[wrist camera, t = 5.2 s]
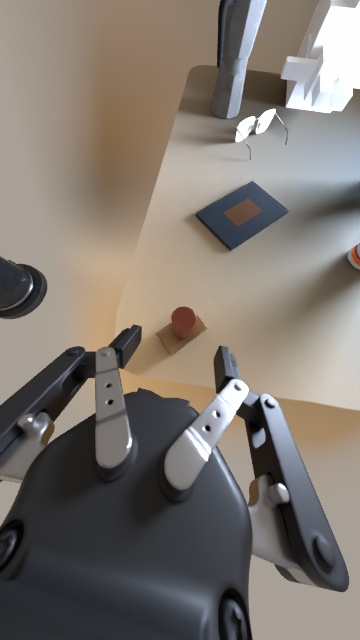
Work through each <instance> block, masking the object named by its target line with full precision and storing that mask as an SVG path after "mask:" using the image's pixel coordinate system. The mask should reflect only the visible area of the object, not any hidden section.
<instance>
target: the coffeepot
mask: <svg viewBox="0 0 360 640" xmlns="http://www.w3.org/2000/svg"><path fill="white" fill-rule="evenodd" d="M266 2H267V0H221V1H220V6H219V14H218V50H217V67H218V68H219V72H218V76H217V81H216V85H215V90H214V94H213V99H212V103H211V107H210V109H211V112H212V113H213V114H214V115H215V116H217V117H219V118H224V119H229V118H233V117H235V116H237V115H238V112H239V110H240V106H241V100H242V93H243V87H244V81H245V74H246V65H247V61H248V56H249V55H250V53H251V50H252V47H253V44H254V41H255V37H256V34H257V31H258V27H259V24H260V21H261V18H262V15H263V11H264V8H265V5H266ZM222 53H223V55H222Z"/></svg>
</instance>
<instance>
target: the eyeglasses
mask: <svg viewBox="0 0 360 640" xmlns="http://www.w3.org/2000/svg"><path fill="white" fill-rule="evenodd" d="M275 111H276V109H270V110H267V111H265V112H264V113H263V114H262V115H261V116H260V118H258V119H259V121H258V124H257V127H256V134H259V133H262V132H264V131H265V130H266V129H267V127H268V126H269V124H270V122H271V120H272V118H273V116H274V114H276V115H277V113H276V112H275ZM277 117H278V118H279V116H278V115H277ZM256 120H257V119H256ZM256 120H255V117H254V116H251V117H248V118H246V119H244V120H243V121H241V122H240V124H239V126H237V128H236V129H237V133H236V139H235V141H236V142H239V141H242V140H244V141H245V138H246V137H247V136H248V134H249V132H250V131H251V129H252V130H253V128H254V126H255V125H253V124H254V122H255V121H256ZM279 120H280V121H281V119H280V118H279ZM281 123H282V124H283V122H282V121H281ZM283 126H284V124H283ZM284 127H285V126H284ZM285 129H286V130H287V128H286V127H285ZM251 132H252V131H251ZM287 133H288V130H287ZM287 139H288V135H287ZM287 139H286V143H287ZM245 142H246V141H245ZM246 144H247V143H246ZM285 145H286V144H285ZM247 146H248V147H249V145H248V144H247ZM249 149H250V147H249ZM250 160H251V150H250Z"/></svg>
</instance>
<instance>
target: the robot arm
mask: <svg viewBox="0 0 360 640" xmlns="http://www.w3.org/2000/svg"><path fill="white" fill-rule="evenodd" d="M34 289H35V279H34V277H33V275H32V274H31V273H30V272H28V271H27V270H25V269H23V268H21V267H19V266H17V265H15V263H14V262H12V261H11V260H6V259H4V258H2V257H1V256H0V311H9V310H13V309H15V308H18V307H19V306H21V305H23V304H24V303H25V302H26V301H27V300H28V299H29V298H30V297H31V295H32V294H33V292H34ZM141 333H142V327H141V326H138V325H133V326H132V327H131V328H130V329H129V328H127V329H125V330H123V331H122V332H121V333H120V334H119V335H118V336H117V337H116V338H115V339H114V340H113V342H112V343H111V344H110V345H109V346H108V347H103V348H101V349H99V350H98V351H97V352H85V349H84V348H83V347H79V346H78V347H72V348H69V349H67V350H66V351H65V352H64V353H62V354H61V355H60V356H59V357H58V358H56V359H55V360H54V361H53V362H52V363H50V364H49V365H48V366H47V367H46V368H44V369H43V370H42V371H41V372H40V373H38V374H37V375H36V376H35V377H34V378H33V379H31V380H30V381H29V382H28V383H27V384H25V385H24V386H23V387H22V388H21V389H19V390H18V391H17V392H16V393H15V394H14V395H12V396H11V397H10V398H9V399H7V400H6V401H5V402H4V403H3V404H2V405H0V482H1V481H3V480H5V481H10V482H15V483H21V486H20V489H19V492H18V494H17V496H16V499H15V501H14V503H13V505H12V507H11V509H10V511H9V513H8V515H7V516H6V518H5V520H4V522H3V523H2V525H1V526H0V640H253V639H252V632H251V625H250V618H249V604H248V583H249V567H250V560H251V554H252V555H255V556H257V557H259V558H262V559H264V560H266V561H269V562H271V563H273V564H274V565H275V567H276V568H277V570H278V571H279V572H280V574H281V575H282V576H283V577H284V578H286V579H287V580H289V581H292V582H297V583H301V584H306V585H311V586H315V587H320V588H324V589H329V590H334V591H338V592H345V591H346V590H347V589H348V586H349V576H348V571H347V568H346V564H345V561H344V559H343V556H342V554H341V552H340V550H339V547H338V544H337V542H336V540H335V537H334V535H333V532H332V530H331V528H330V525H329V523H328V520H327V518H326V516H325V513H324V511H323V508H322V506H321V504H320V501H319V499H318V496H317V494H316V492H315V489H314V487H313V484H312V482H311V480H310V477H309V475H308V472H307V470H306V468H305V465H304V463H303V460H302V458H301V456H300V453H299V451H298V448H297V446H296V444H295V441H294V439H293V436H292V434H291V432H290V429H289V427H288V424H287V422H286V419H285V417H284V415H283V412H282V410H281V407H280V405H279V404H278V402H277V401H276V400H275V399H274V398H273V397H272V396H270V395H268V394H261V395H260V396H258V395H257V394H255V393H253V392H251V391H249V390H248V387H247V386H246V384H245V383H244V382H243V381H241V377H240V373H239V370H238V367H237V362H236V359H235V357H234V356H233V354H231V353H229V350H228V347H224V346H219V348H218V350H217V352H216V355H215V357H214V372H215V384H216V393H217V395H216V397H215V398H214V399H213V400H212V401H211V402H210V404H209V405H208V406H207V407H206V408H205V409H204V410H203V412H202V413H201V414H199V413H198V412H197V411H196V410H195V409H194V408H192V407H191V406H190V401H187V400H183V399H179V398H163V397H161V396H159V395H157V394H155V393H154V392H152V391H149V390H145V389H141V388H139V389H138V391H137V392H131V393H128V394H125V395H123V390H122V384H121V379H120V373H119V368H121V369H124V367H125V366H126V364H127V363H128V361H129V359H130V358H131V356H132V355H133V353H134V352H135V350H136V349H137V347H138V346H139V344H140V342H141ZM88 378H95V398H96V413H95V414H93V415H92V416H90V417H88V418H87V419H85V420H84V421H82V422H80V423H79V424H77V425H76V426H74V427H73V428H71V429H70V430H68V431H67V432H65V433H63V434H62V435H60V436H59V437H57V438H56V439H54V440H53V441H52V442H50V443H49V444H48V441H49V439H50V437H51V435H52V433H53V432H54V428H55V426H54V423H53V422H54V421H55V420H56V418H57V417H58V416H59V415H60V413H61V412H62V411H63V410H64V408H65V407H66V406H67V405H68V403H69V402H70V400H71V399H72V398H73V397H74V396H75V394H76V393H77V392H78V391H79V389H80V388H81V386H82V385H83V384H84V383H85V382H86V380H87V379H88ZM235 414H236V415H238V416H240V417H241V418H243V419H244V420H245V425H246V431H247V436H248V441H249V447H250V453H251V458H252V464H253V470H254V474H255V480H253V481H252V482H251V484H250V487H249V495H250V498H249V503H248V506H247V503H246V500H245V498H244V495H243V493H242V491H241V489H240V487H239V486H238V484H237V482H236V480H235V478H234V476H233V475H232V473H231V471H230V469H229V467H228V465H227V463H226V462H225V460H224V458H223V456H222V454H221V452H220V450H219V449H218V447H217V445H216V444H217V443H218V441H219V440H220V438H221V436H222V435H223V433H224V431H225V430H226V428H227V427H228V425H229V423H230V422H231V420H232V419H233V417H234V415H235ZM47 444H48V445H47Z"/></svg>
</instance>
